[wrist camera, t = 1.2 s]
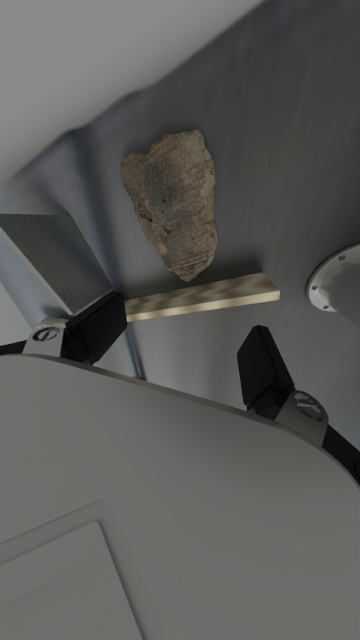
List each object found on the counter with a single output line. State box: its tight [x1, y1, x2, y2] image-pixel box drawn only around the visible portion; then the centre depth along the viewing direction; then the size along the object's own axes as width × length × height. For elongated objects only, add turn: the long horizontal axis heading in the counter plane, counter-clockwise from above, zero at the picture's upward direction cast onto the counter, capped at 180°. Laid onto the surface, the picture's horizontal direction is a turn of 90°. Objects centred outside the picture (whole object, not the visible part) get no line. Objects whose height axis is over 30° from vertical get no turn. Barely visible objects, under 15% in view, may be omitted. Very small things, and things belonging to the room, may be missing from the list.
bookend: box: [0, 214, 113, 315], centre depth 28 cm, size 7×16×13 cm, turn 17°
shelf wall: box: [124, 272, 280, 322], centre depth 31 cm, size 40×2×9 cm, turn 107°
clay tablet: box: [121, 129, 217, 282], centre depth 24 cm, size 14×5×20 cm
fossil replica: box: [34, 317, 70, 331], centre depth 46 cm, size 12×8×10 cm
